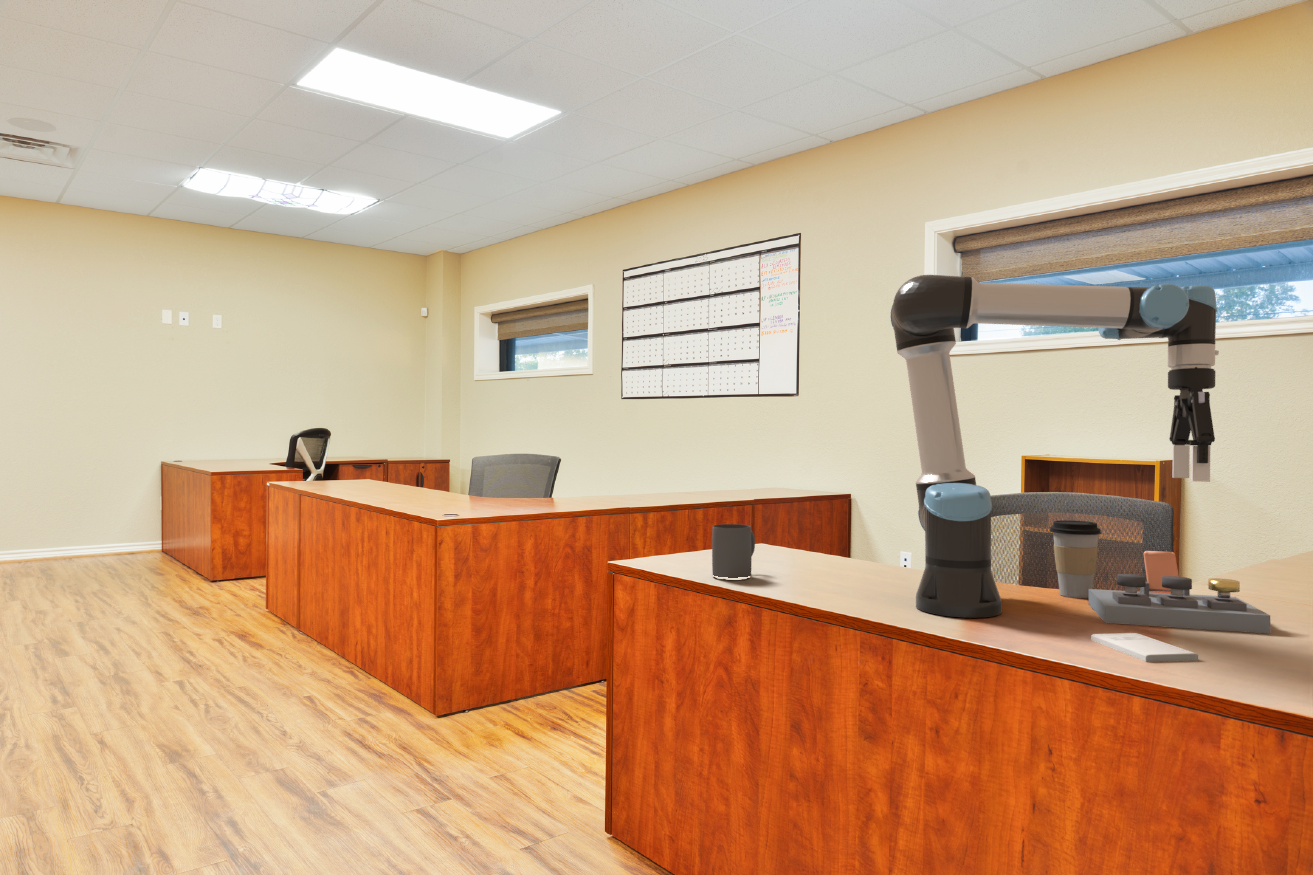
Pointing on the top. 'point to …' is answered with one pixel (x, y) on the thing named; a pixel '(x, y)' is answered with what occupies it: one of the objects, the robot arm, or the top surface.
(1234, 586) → the brass button
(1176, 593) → the black button mid
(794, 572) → the top surface
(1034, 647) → the top surface
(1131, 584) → the black button left
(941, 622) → the top surface
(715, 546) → the mug
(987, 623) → the top surface
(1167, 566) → the paddle lever
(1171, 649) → the external hard drive
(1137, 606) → the control panel
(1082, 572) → the coffee cup
